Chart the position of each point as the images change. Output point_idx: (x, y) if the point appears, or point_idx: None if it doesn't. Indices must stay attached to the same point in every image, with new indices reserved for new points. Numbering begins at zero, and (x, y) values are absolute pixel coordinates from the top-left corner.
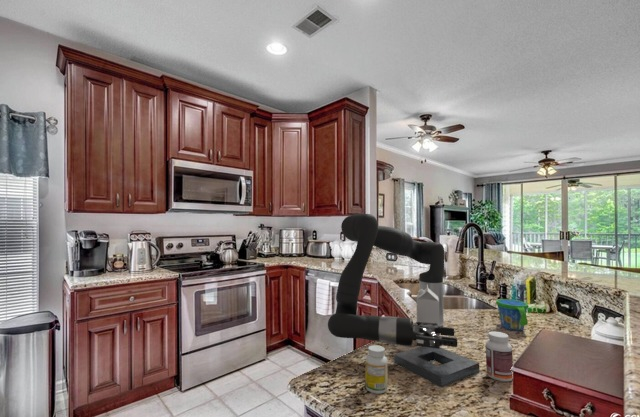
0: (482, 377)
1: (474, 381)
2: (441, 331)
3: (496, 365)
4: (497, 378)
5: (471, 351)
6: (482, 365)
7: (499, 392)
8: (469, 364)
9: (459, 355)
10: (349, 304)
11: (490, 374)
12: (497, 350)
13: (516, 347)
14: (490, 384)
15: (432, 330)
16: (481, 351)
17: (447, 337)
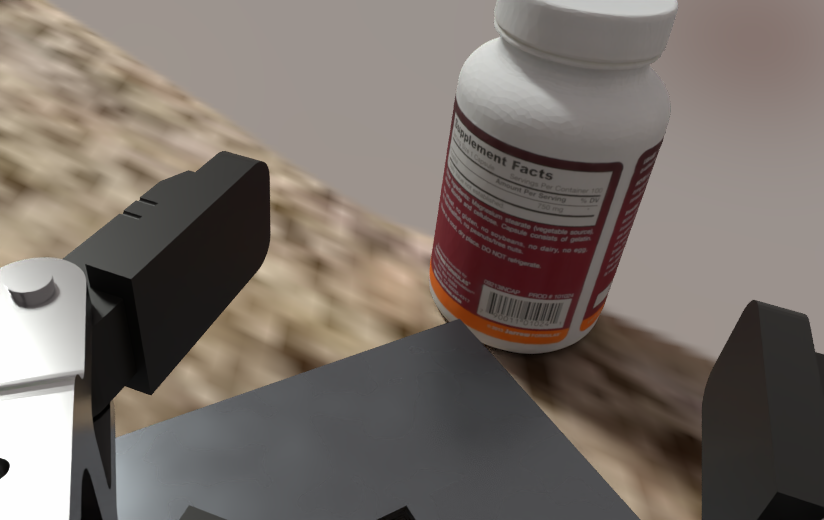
0: (541, 403)
1: (636, 499)
2: (150, 334)
3: (615, 253)
4: (590, 327)
5: (38, 244)
6: (320, 302)
7: None
8: (509, 408)
9: (274, 391)
10: None
11: (557, 338)
12: (662, 137)
13: (100, 52)
14: (656, 409)
15: (100, 493)
16: (72, 194)
17: (821, 419)
